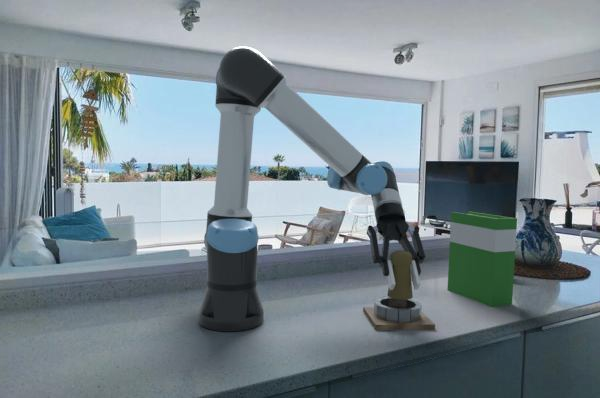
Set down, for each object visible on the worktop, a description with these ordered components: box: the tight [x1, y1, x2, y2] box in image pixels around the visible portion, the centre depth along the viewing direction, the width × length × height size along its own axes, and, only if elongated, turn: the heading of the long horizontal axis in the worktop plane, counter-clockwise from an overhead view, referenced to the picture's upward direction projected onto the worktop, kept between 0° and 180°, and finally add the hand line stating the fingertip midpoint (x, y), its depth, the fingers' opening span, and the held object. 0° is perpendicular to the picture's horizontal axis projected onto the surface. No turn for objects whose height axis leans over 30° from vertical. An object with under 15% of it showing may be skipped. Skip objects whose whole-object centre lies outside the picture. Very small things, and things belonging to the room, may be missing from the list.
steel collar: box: [373, 296, 423, 323], centre depth 112 cm, size 11×11×3 cm
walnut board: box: [362, 306, 436, 331], centre depth 112 cm, size 14×13×1 cm
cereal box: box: [447, 211, 518, 308], centre depth 134 cm, size 18×7×24 cm, turn 23°
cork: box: [386, 250, 414, 300], centre depth 112 cm, size 6×6×11 cm
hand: (405, 286), depth 108 cm, fingers closed on cork, 5 cm apart
